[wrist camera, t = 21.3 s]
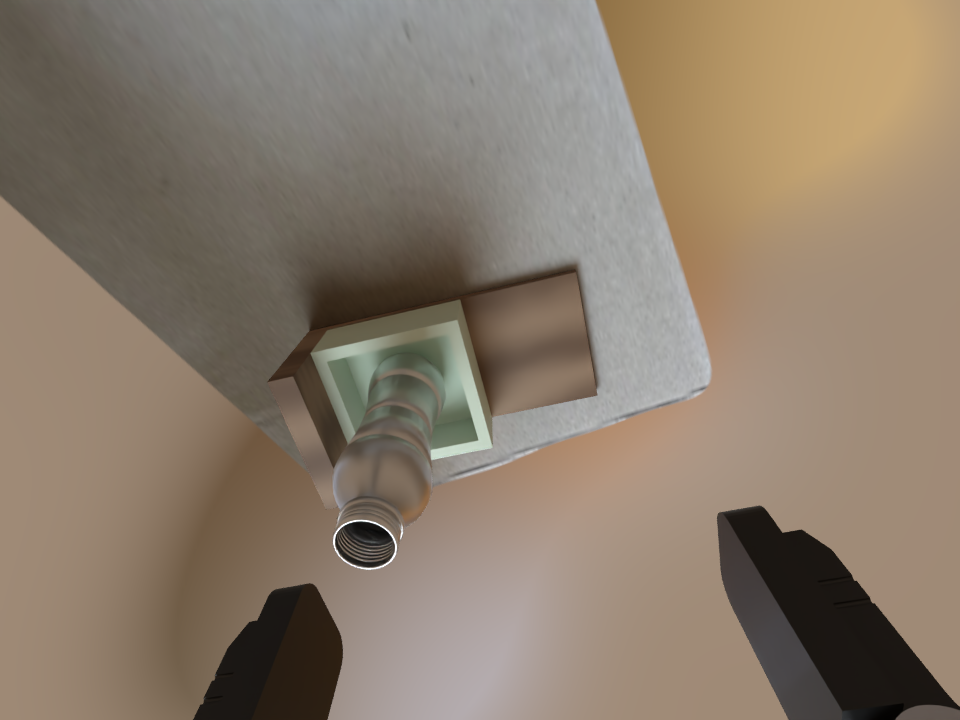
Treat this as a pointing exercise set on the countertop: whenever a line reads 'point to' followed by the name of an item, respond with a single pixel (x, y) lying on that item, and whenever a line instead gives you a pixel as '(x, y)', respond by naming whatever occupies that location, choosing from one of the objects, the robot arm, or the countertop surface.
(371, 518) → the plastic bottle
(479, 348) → the backstop
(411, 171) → the countertop surface
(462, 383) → the socket block
